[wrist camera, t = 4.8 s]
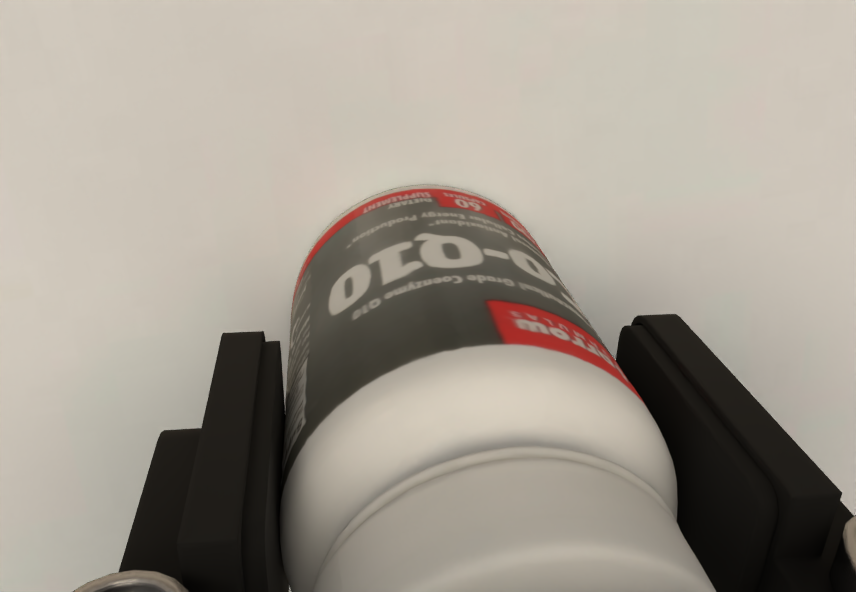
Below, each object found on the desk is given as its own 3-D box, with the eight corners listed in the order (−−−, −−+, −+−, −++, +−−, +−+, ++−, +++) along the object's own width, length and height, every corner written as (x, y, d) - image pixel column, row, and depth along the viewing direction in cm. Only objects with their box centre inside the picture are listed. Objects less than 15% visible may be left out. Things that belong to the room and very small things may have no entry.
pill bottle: (557, 179, 14) (857, 493, 6) (530, 402, 16) (728, 841, 8) (285, 177, 13) (254, 528, 5) (294, 412, 15) (278, 900, 8)
